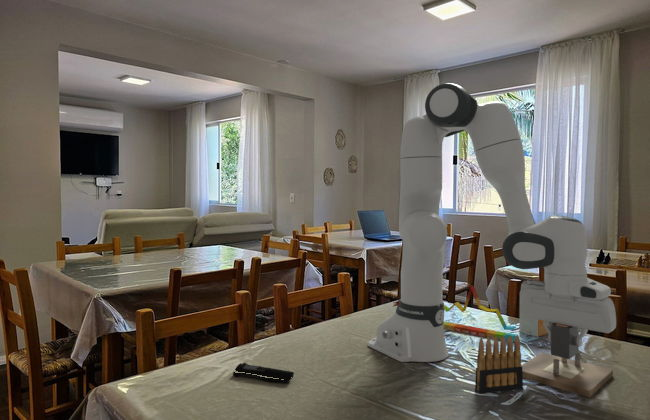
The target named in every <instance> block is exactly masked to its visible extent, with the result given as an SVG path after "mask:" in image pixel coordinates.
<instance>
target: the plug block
mask: <svg viewBox="0 0 650 420" xmlns="http://www.w3.org/2000/svg"><path fill="white" fill-rule="evenodd" d="M579 334H580V332H578V327H573V326H568V325H563V324H558V323H553V324H552V325H551V340H550V354H551V355H554V356H558V357H562V358H566V359H572V358H573V357H575V355H576V354H577V353H579V351H580V347H579V346H574V345H573V338H574V337H575V336H576V337H578V336H579Z"/></svg>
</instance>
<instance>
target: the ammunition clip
mask: <svg viewBox="0 0 650 420" xmlns="http://www.w3.org/2000/svg"><path fill="white" fill-rule="evenodd" d="M476 362H477V365H476V367H475V384H474V385H475V386H474V390H475V391H476V393H478V394H479V395H482V394H490V393H499V392H507V391H508V392H509V391H519V390H523V389H524V378H523V371H522V366H521V365H522V351H521V342H520V337H519V335H518V334H516V338H515V341H514V342H513V341H512V337H511V335H510V336H509V338H508V342H507V341H505V338H504V336H502V339H501V340H500V345H499V340H498V339H497V337H495V339H493V344H492V341H491V338H489V337H488V338H486V343H485V344H484V339H483V338H482V337H480V338H479V342H478V351H477V360H476Z"/></svg>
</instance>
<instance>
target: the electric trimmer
mask: <svg viewBox="0 0 650 420" xmlns="http://www.w3.org/2000/svg"><path fill="white" fill-rule="evenodd" d="M234 370H236V371H238V372H245V373H235V372H234V371H233V372H232V376H233V377H235V378H237V377H240V376H241V377H246V378H254V379H260V380H261V379H262V380H263V381H264V382H275V383H276V382H277V383H280V382H281V383H288V382H290V381H291V380H292V379H293V377H294V374H295V372H294V371H291V370H290V371H289V370H284V369H277V368H271V367H264V366H260V365H258V366H257V365H250V364H248V363H246V362H243V363H241V362H240V363H239V364H237V366H236V367H235V369H234ZM246 373H251V374H246ZM252 374H257V375H262V376H267V377H273V378H279V379H273V378H265V377H260V376H257V375H252ZM291 377H292V378H291ZM281 379H284V380H281Z"/></svg>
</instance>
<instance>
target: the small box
mask: <svg viewBox="0 0 650 420" xmlns="http://www.w3.org/2000/svg"><path fill="white" fill-rule="evenodd" d="M521 297H522V294H521V290H520V291H519V304H520V303H521ZM518 325H519V329H518V330H519V331H518V332H519V333H522V334H525V335H529V336H532V337H536V338H539V337H542V336H544V335H548V332H547V331H546V329H545V327H544V325H543V320H537V319H532V318H527V317H523V316H522V314H521V313H520V312H519V323H518ZM551 325H553V324H551Z"/></svg>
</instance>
